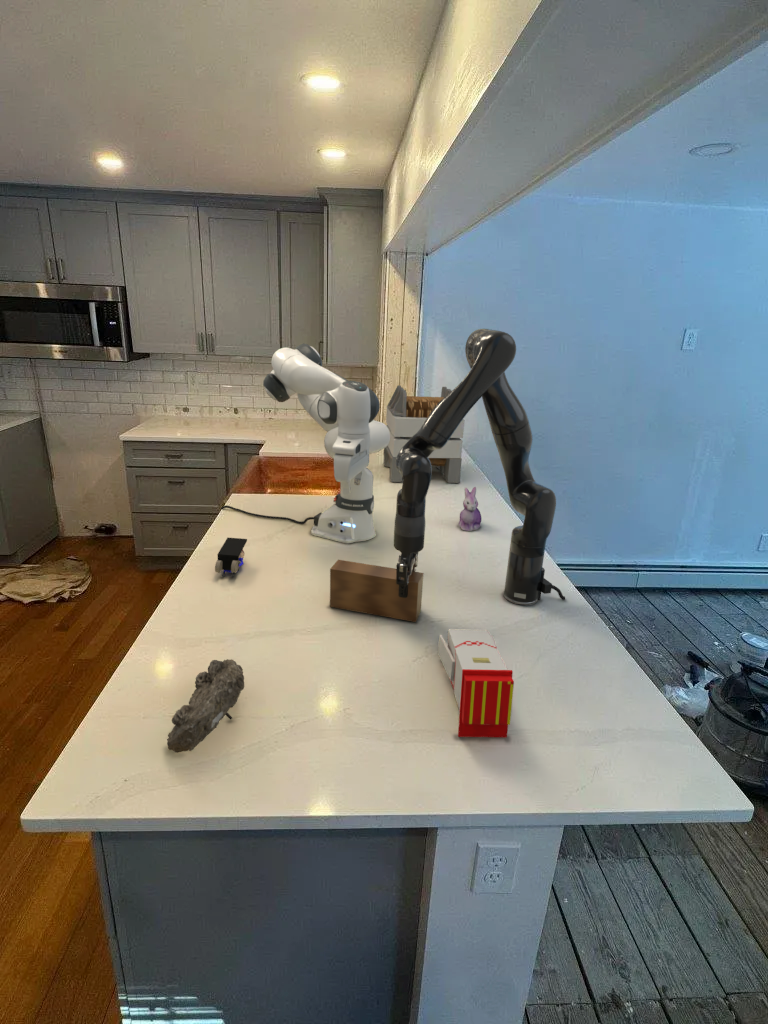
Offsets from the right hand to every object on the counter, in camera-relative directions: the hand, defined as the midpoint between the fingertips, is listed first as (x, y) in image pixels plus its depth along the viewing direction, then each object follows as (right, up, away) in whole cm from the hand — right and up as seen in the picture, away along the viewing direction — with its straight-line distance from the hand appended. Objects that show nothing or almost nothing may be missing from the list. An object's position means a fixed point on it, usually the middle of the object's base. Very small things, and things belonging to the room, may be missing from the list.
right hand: (406, 590), depth 145 cm
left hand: (-15, +27, +17) cm, 35 cm away
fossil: (-38, -19, -37) cm, 56 cm away
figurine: (+26, +14, +64) cm, 71 cm away
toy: (+12, -18, -26) cm, 34 cm away
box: (-8, -5, +4) cm, 10 cm away
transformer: (+12, +39, +130) cm, 136 cm away
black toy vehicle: (-51, +3, +23) cm, 55 cm away
